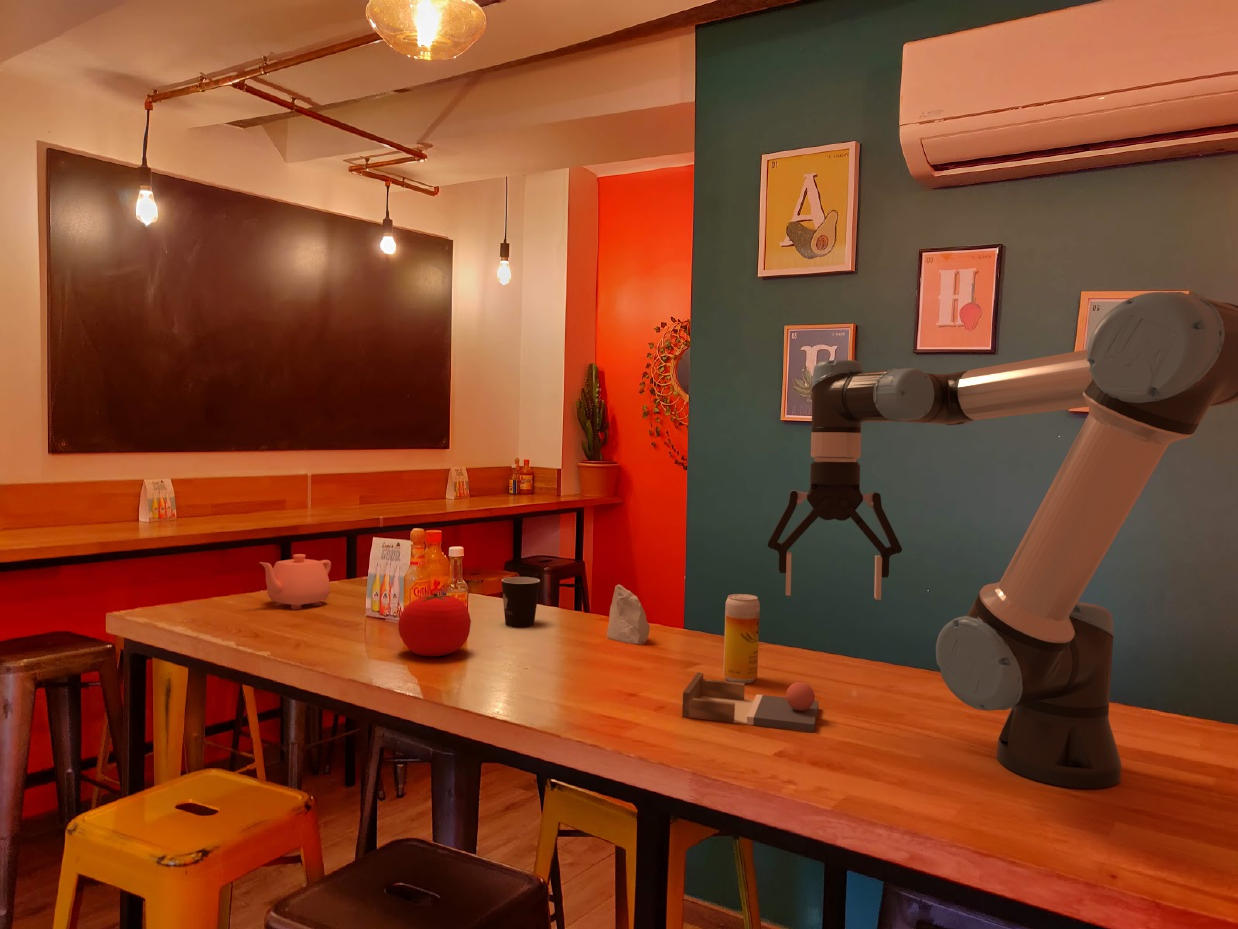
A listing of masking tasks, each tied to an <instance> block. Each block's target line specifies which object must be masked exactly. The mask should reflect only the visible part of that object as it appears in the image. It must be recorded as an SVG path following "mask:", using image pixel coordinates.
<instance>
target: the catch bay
mask: <svg viewBox="0 0 1238 929" xmlns="http://www.w3.org/2000/svg"><path fill="white" fill-rule="evenodd" d="M745 685H746V683H736V682H730V681H728V680H725V681H723V680H717V679H707V678H706V679H705V678H704V672H697V673H696V674H695V675H694V677H693V678H692V679H691V681H690V682H689V684H688V685H687V686H686V687H685V689H684V690H683V692H682V712H681V713H682V714H681V717H683V718H690V719H692V718H693V719H699V720H701V719H702V720H710V721H715V722H726V723H731V724H732V723H733V724H735V723H734V719H735V703H733V702H724V701H715V700H707V699H700V698H701V696H707V697H715V698H724V699H733V700H742V701H743V700H744V699H745V688H746V687H745Z"/></svg>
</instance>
